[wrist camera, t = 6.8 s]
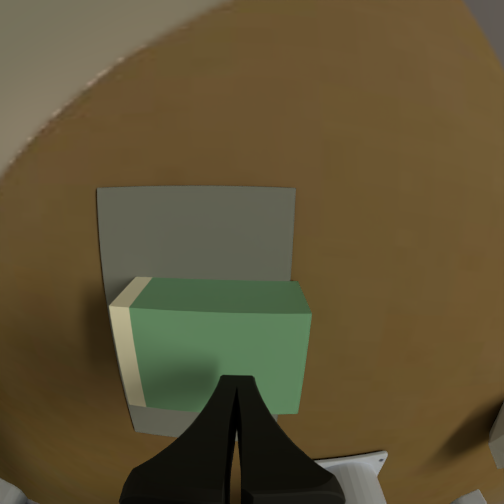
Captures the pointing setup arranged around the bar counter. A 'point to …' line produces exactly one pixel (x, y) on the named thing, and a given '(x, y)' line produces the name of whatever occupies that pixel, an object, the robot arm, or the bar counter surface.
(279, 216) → the mat
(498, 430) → the die
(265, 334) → the block
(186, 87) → the bar counter surface
